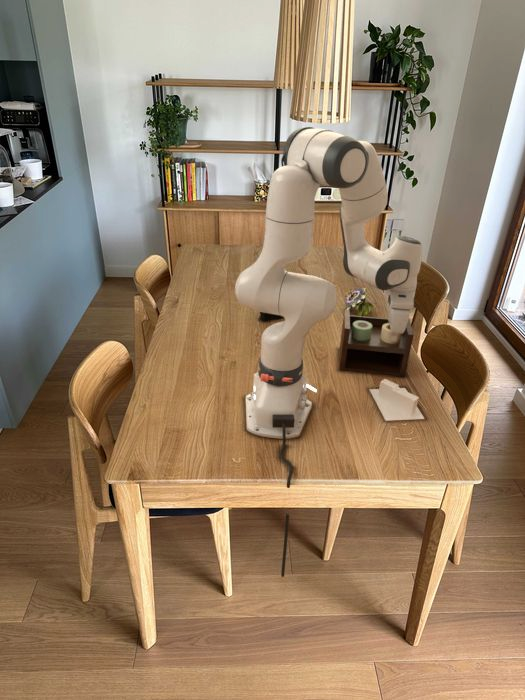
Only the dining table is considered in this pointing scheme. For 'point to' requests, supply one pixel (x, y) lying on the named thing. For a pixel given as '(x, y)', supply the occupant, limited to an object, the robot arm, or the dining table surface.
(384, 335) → the cream tape roll
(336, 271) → the dining table surface
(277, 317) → the film camera
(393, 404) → the napkin holder
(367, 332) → the sage tape roll
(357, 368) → the shelf
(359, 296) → the passion flower
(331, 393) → the dining table surface
